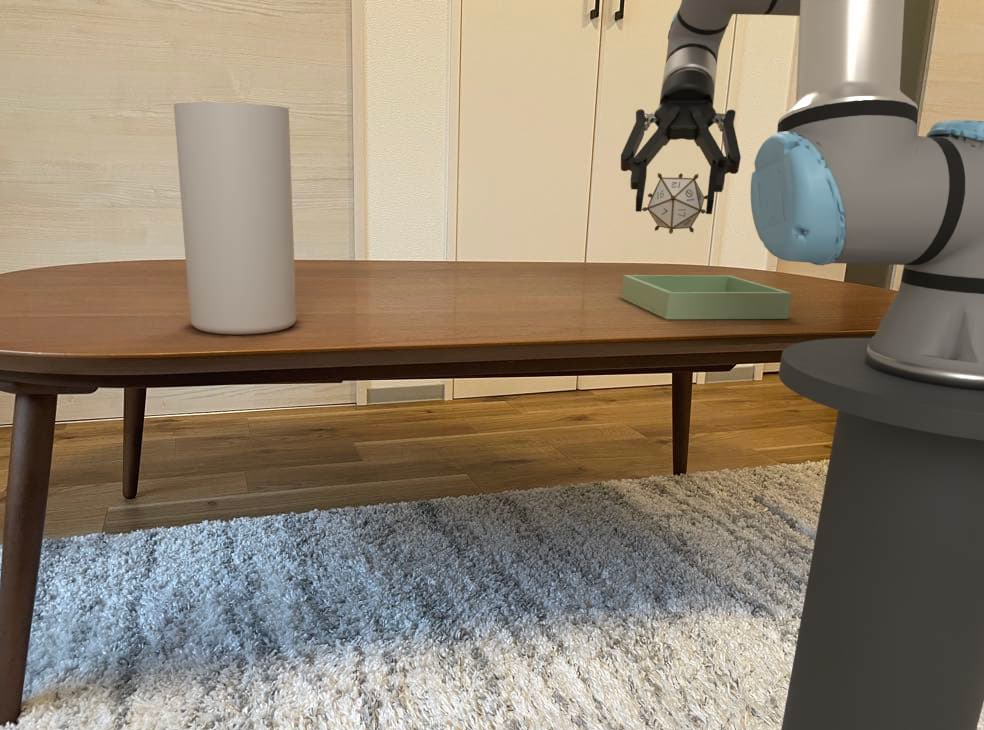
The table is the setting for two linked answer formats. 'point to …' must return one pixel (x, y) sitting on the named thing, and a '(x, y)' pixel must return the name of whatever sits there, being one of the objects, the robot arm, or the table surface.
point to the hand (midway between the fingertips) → (673, 205)
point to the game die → (676, 203)
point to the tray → (705, 297)
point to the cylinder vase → (237, 216)
